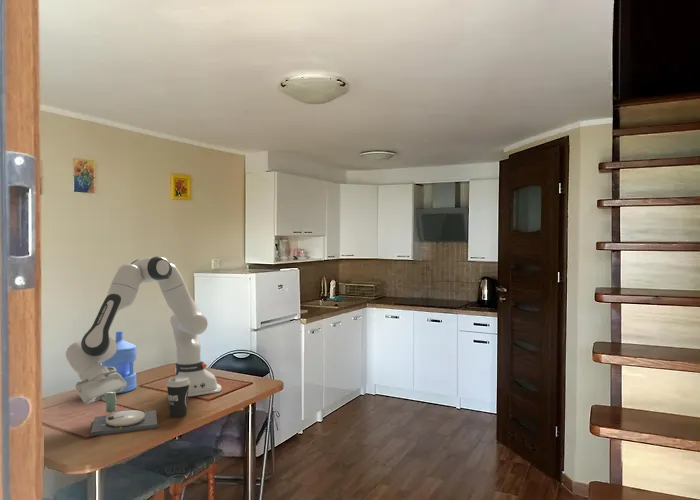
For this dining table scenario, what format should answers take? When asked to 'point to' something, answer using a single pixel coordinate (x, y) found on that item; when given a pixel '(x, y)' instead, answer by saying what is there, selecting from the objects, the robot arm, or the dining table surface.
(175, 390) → the coffee cup
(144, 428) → the dial base plate
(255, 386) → the dining table surface
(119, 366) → the water jug
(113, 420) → the dial
